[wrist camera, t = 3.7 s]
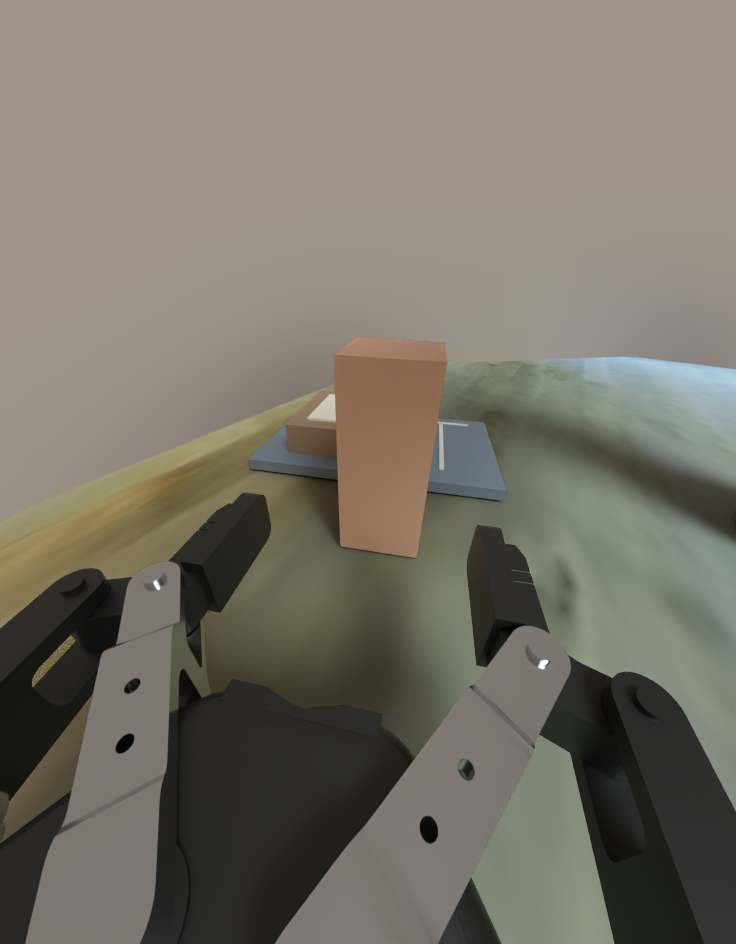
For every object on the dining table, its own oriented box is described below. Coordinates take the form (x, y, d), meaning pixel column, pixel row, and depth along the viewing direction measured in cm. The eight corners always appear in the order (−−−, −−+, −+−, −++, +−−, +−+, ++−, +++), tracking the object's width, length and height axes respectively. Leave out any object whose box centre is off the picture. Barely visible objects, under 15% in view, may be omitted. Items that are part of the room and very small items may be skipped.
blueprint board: (482, 430, 36) (490, 397, 34) (503, 500, 25) (517, 457, 23) (305, 413, 40) (302, 382, 38) (250, 468, 28) (241, 428, 26)
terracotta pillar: (420, 509, 24) (444, 342, 17) (416, 558, 20) (446, 362, 13) (356, 500, 24) (357, 337, 18) (340, 546, 20) (333, 354, 14)
